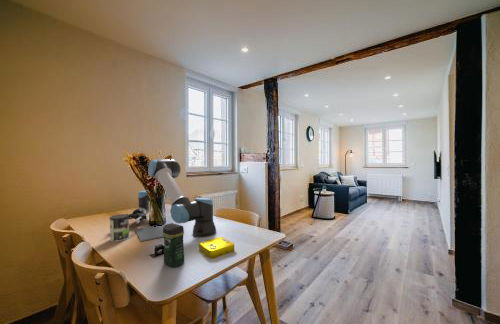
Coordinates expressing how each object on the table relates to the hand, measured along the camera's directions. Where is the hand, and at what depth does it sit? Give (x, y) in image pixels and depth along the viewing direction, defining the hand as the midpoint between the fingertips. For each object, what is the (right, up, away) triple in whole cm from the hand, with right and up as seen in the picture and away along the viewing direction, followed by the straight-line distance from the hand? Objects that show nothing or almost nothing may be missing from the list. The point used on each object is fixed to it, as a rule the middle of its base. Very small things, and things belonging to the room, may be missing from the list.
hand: (126, 221), depth 148 cm
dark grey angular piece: (+35, -9, -32) cm, 48 cm away
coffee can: (+1, -8, -10) cm, 13 cm away
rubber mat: (+18, -8, +1) cm, 20 cm away
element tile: (+65, -8, -29) cm, 71 cm away
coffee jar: (+47, -8, -43) cm, 64 cm away
